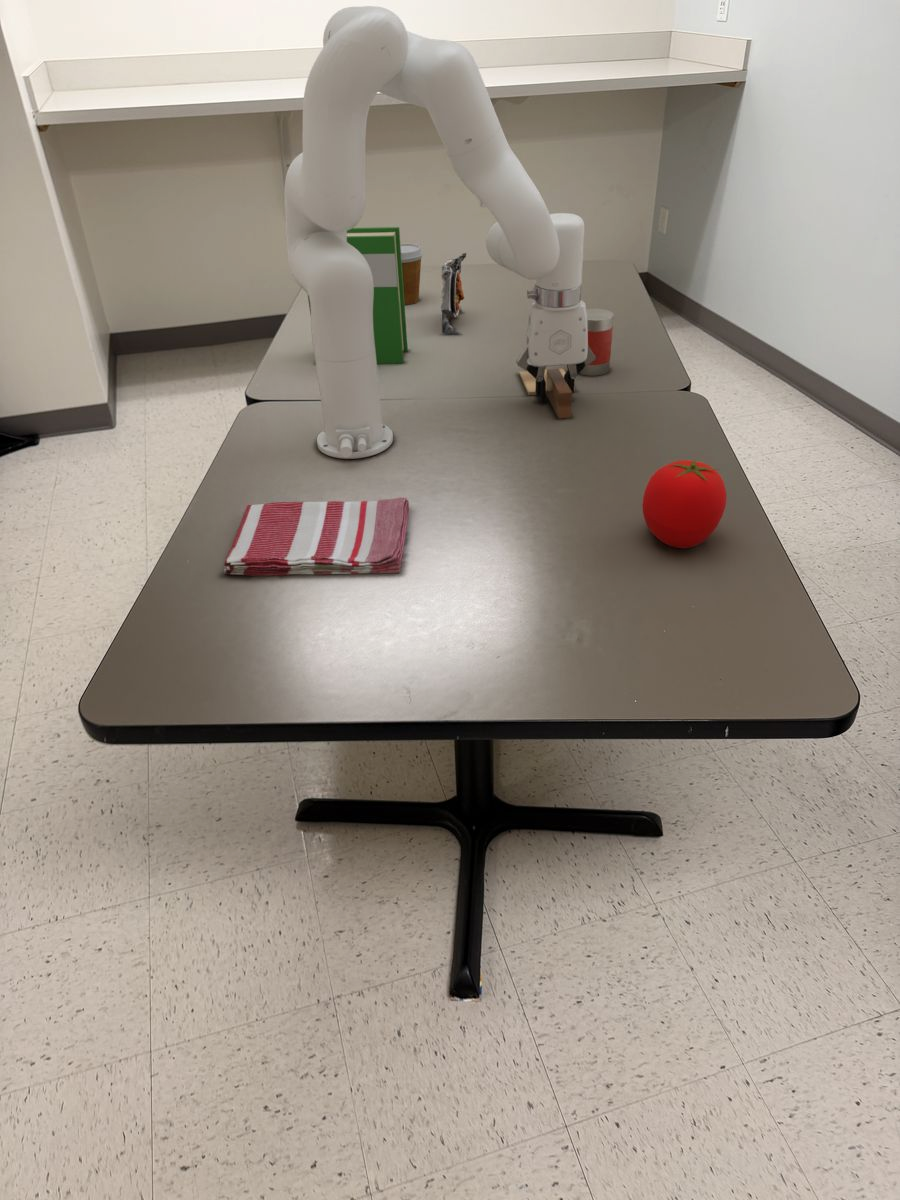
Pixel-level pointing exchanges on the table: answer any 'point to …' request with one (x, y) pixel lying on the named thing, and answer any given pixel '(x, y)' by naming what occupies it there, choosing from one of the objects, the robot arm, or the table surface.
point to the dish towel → (320, 538)
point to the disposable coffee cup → (411, 271)
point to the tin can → (599, 341)
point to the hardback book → (384, 289)
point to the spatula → (552, 390)
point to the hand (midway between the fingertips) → (554, 397)
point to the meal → (451, 292)
